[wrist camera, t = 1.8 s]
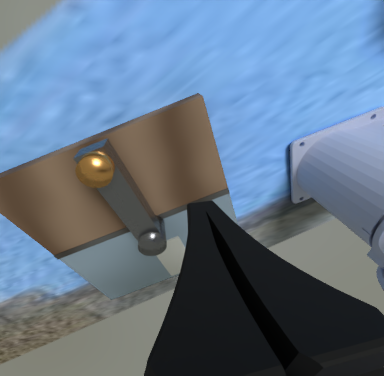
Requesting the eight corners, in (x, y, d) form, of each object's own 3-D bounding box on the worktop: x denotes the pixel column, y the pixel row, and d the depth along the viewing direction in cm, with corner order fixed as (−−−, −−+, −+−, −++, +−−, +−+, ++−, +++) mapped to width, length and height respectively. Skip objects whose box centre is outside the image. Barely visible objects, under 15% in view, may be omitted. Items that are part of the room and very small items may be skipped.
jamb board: (198, 93, 15) (202, 96, 13) (224, 184, 20) (229, 193, 18) (-16, 179, 15) (-31, 190, 14) (64, 246, 20) (58, 259, 19)
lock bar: (168, 228, 19) (171, 254, 17) (146, 236, 19) (145, 264, 17) (112, 133, 13) (103, 151, 11) (80, 146, 13) (64, 167, 11)
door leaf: (224, 184, 20) (229, 193, 18) (240, 240, 25) (245, 251, 24) (64, 246, 20) (57, 260, 19) (113, 288, 26) (111, 301, 24)
